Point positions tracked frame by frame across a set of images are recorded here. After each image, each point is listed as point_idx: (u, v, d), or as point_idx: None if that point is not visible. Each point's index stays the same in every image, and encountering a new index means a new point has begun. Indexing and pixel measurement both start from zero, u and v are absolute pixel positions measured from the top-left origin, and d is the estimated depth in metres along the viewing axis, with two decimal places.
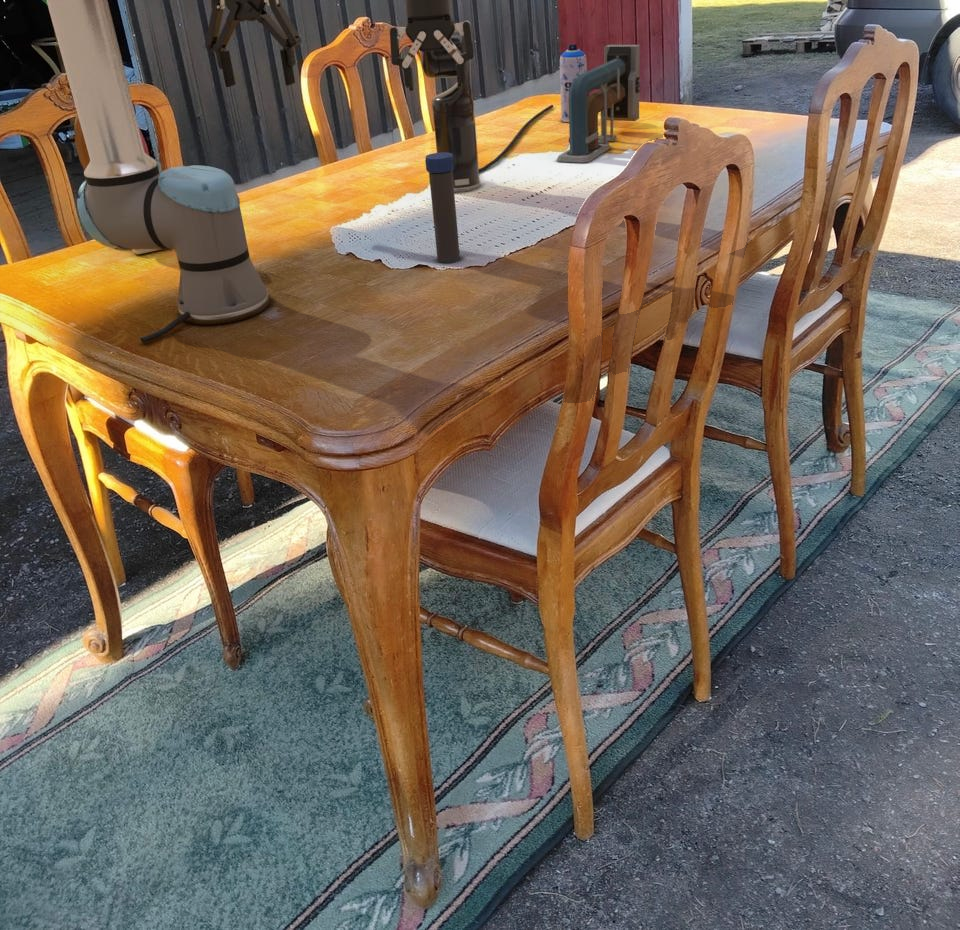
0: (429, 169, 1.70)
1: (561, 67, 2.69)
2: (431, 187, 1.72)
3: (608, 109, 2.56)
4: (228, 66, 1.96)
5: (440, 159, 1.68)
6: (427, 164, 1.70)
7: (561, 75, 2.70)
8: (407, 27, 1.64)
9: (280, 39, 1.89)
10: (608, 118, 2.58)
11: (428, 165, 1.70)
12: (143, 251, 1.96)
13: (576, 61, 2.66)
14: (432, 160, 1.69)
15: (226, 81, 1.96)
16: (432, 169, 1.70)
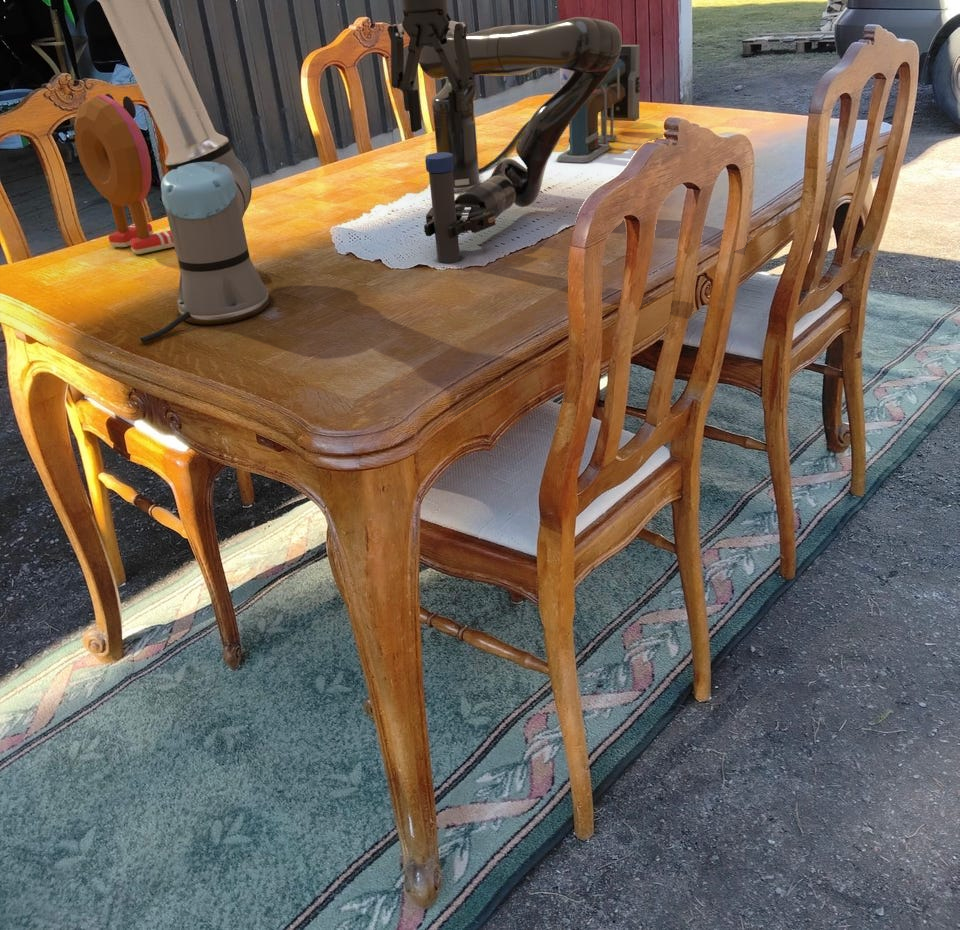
0: (429, 169, 1.70)
1: None
2: (431, 187, 1.72)
3: (608, 109, 2.56)
4: None
5: (440, 159, 1.68)
6: (427, 164, 1.70)
7: (561, 75, 2.70)
8: None
9: None
10: (608, 118, 2.58)
11: (428, 165, 1.70)
12: (143, 251, 1.96)
13: None
14: (432, 160, 1.69)
15: None
16: (432, 169, 1.70)
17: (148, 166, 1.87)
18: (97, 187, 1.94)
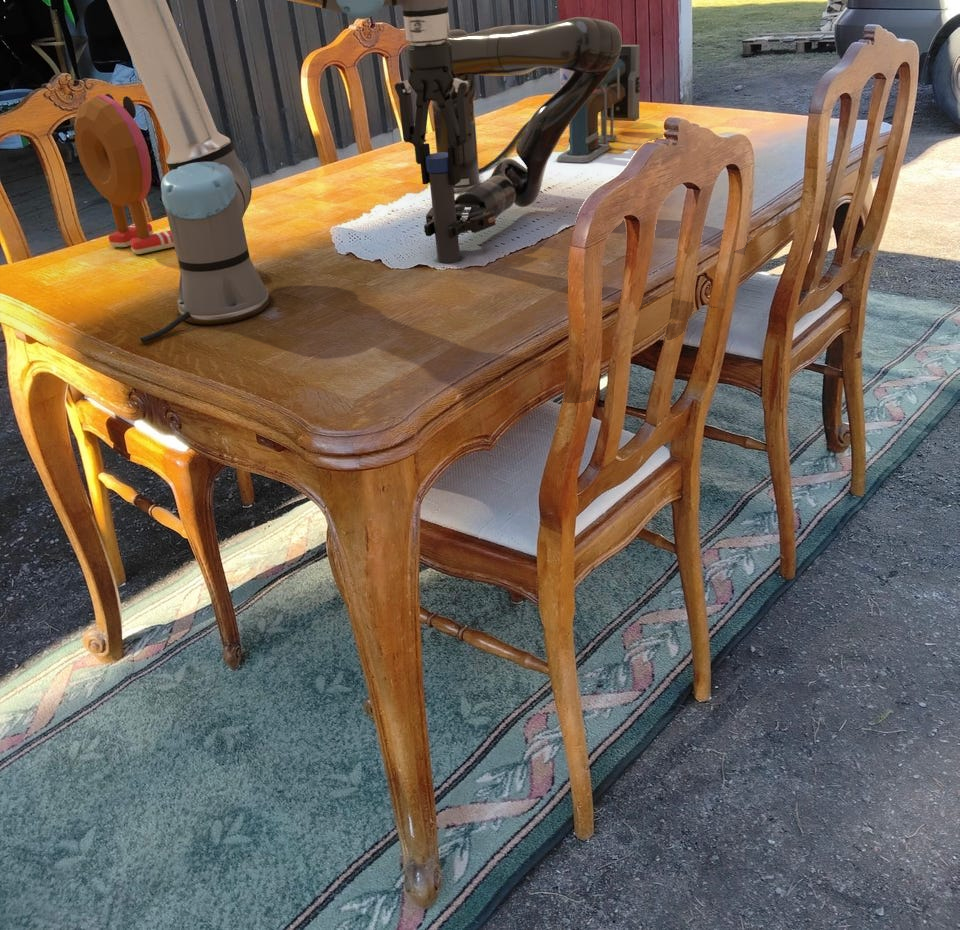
0: (429, 169, 1.70)
1: None
2: (431, 187, 1.72)
3: (608, 109, 2.56)
4: None
5: (440, 159, 1.68)
6: (427, 164, 1.70)
7: (561, 75, 2.70)
8: None
9: None
10: (608, 118, 2.58)
11: (428, 165, 1.70)
12: (143, 251, 1.96)
13: None
14: (432, 160, 1.69)
15: None
16: (432, 169, 1.70)
17: (148, 166, 1.87)
18: (97, 187, 1.94)
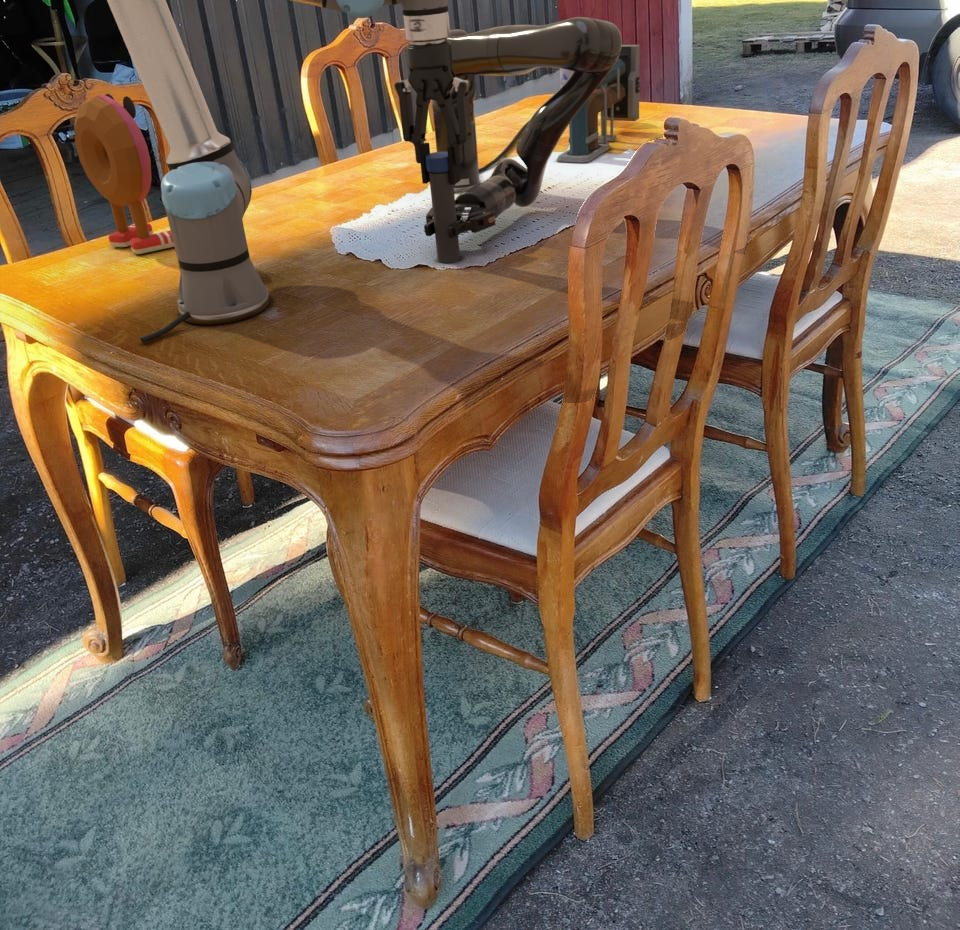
0: None
1: None
2: (431, 187, 1.72)
3: (608, 109, 2.56)
4: None
5: None
6: None
7: (561, 75, 2.70)
8: None
9: None
10: (608, 118, 2.58)
11: None
12: (143, 251, 1.96)
13: None
14: None
15: None
16: None
17: (148, 166, 1.87)
18: (97, 187, 1.94)
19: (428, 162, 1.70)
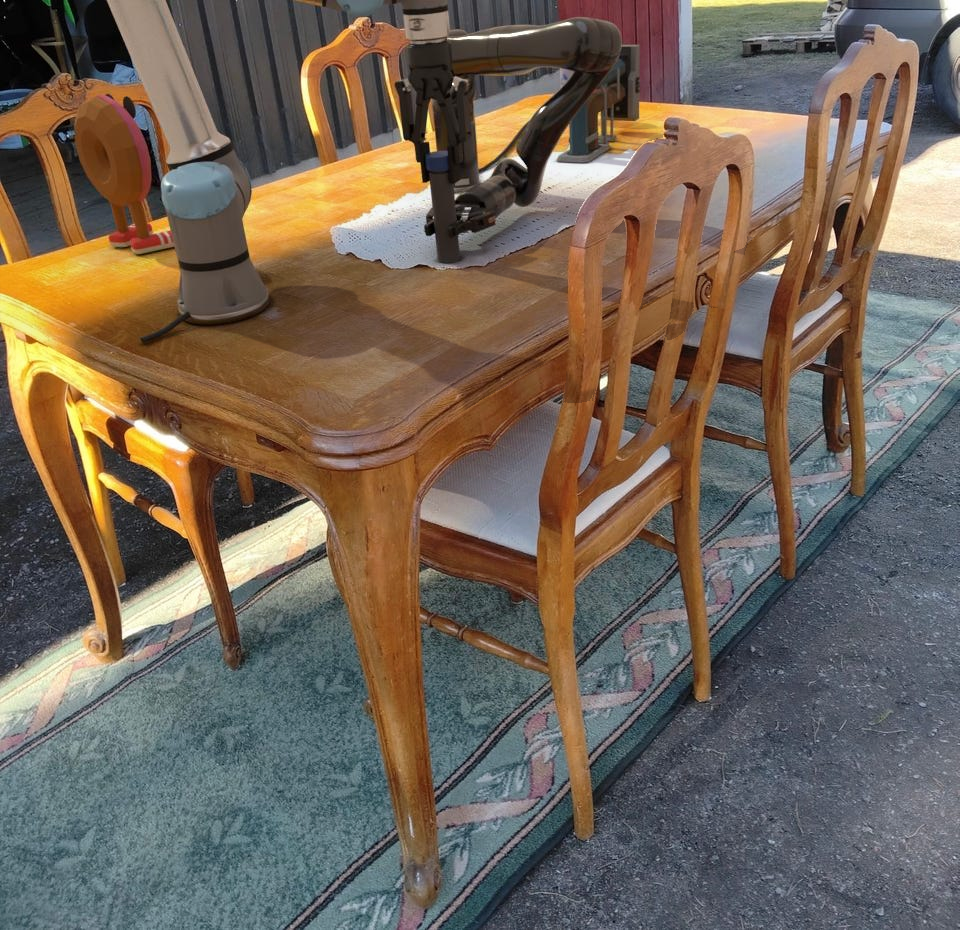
0: None
1: None
2: (431, 187, 1.72)
3: (608, 109, 2.56)
4: None
5: (430, 153, 1.72)
6: None
7: (561, 75, 2.70)
8: None
9: None
10: (608, 118, 2.58)
11: None
12: (143, 251, 1.96)
13: None
14: None
15: None
16: None
17: (148, 166, 1.87)
18: (97, 187, 1.94)
19: None
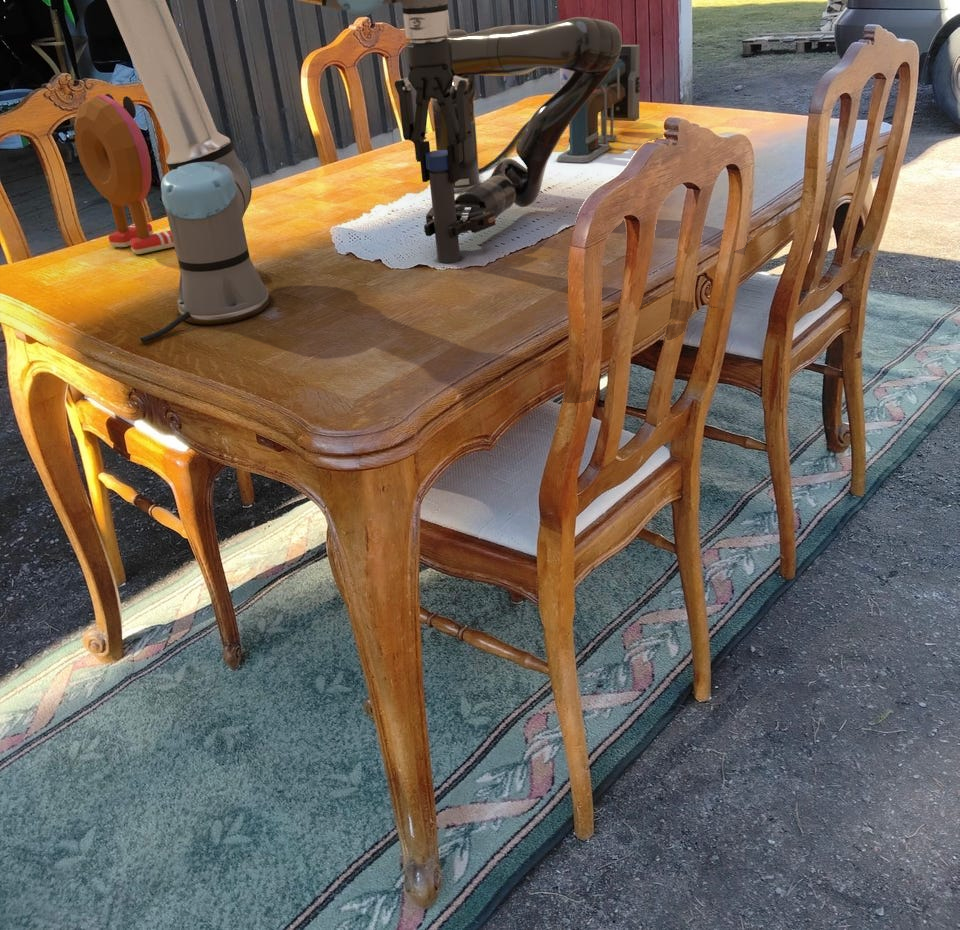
0: (426, 165, 1.71)
1: None
2: (431, 187, 1.72)
3: (608, 109, 2.56)
4: None
5: (431, 157, 1.69)
6: (426, 160, 1.71)
7: (561, 75, 2.70)
8: None
9: None
10: (608, 118, 2.58)
11: (426, 161, 1.71)
12: (143, 251, 1.96)
13: None
14: (426, 157, 1.69)
15: None
16: (427, 165, 1.71)
17: (148, 166, 1.87)
18: (97, 187, 1.94)
19: None
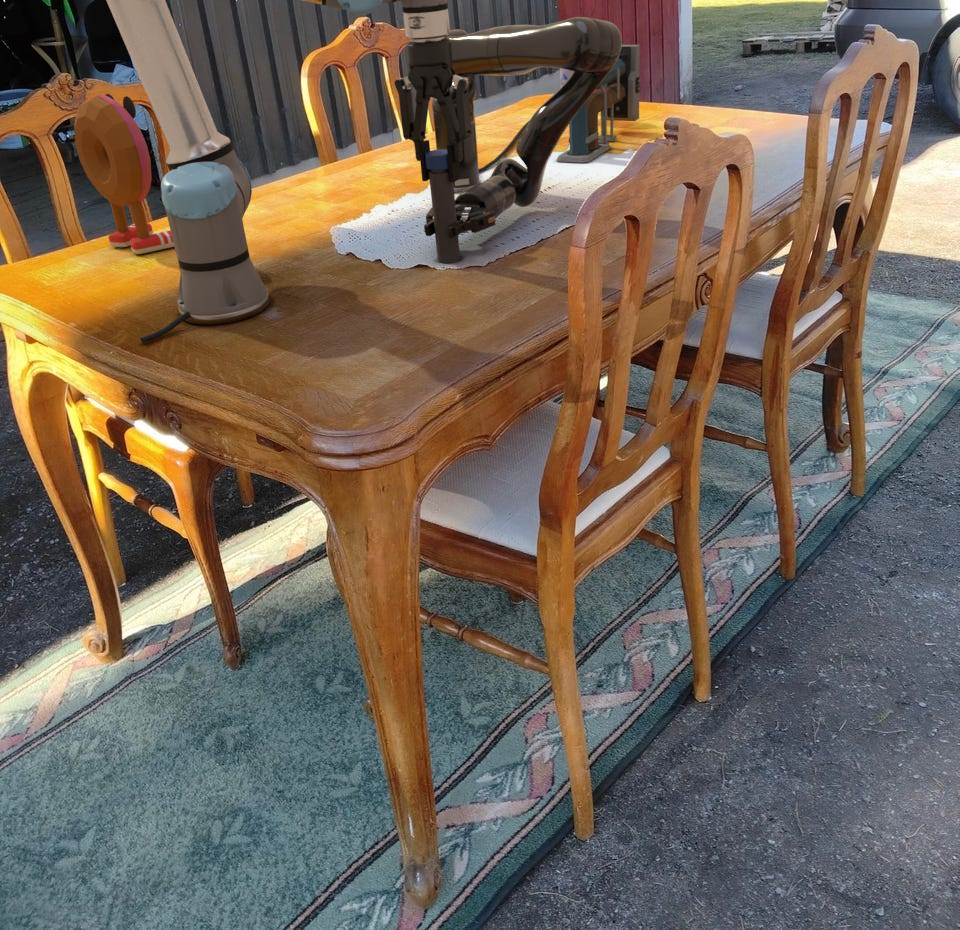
0: (444, 166, 1.69)
1: None
2: (431, 187, 1.72)
3: (608, 109, 2.56)
4: None
5: None
6: (441, 161, 1.69)
7: (561, 75, 2.70)
8: None
9: None
10: (608, 118, 2.58)
11: (442, 162, 1.69)
12: (143, 251, 1.96)
13: None
14: (447, 155, 1.69)
15: None
16: (446, 165, 1.69)
17: (148, 166, 1.87)
18: (97, 187, 1.94)
19: None
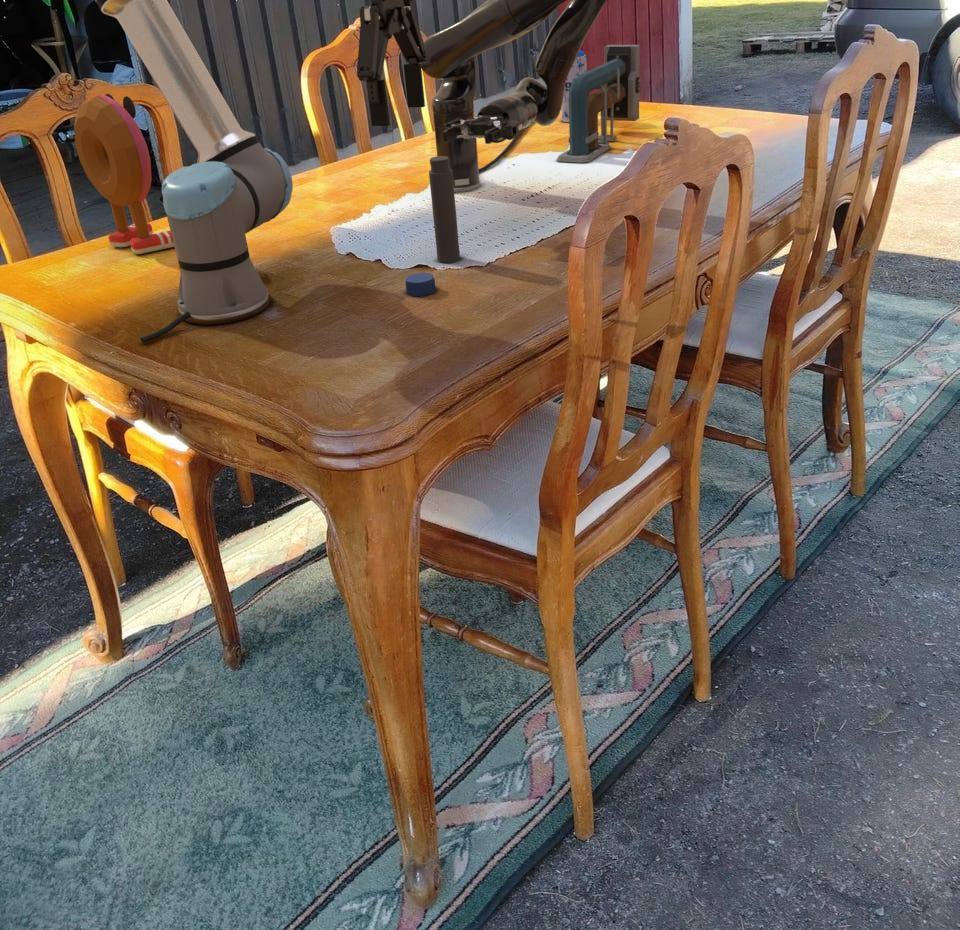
0: None
1: None
2: (431, 187, 1.72)
3: (608, 109, 2.56)
4: (412, 83, 1.55)
5: None
6: None
7: None
8: None
9: None
10: (608, 118, 2.58)
11: None
12: (143, 251, 1.96)
13: (576, 61, 2.66)
14: None
15: None
16: None
17: (148, 166, 1.87)
18: (97, 187, 1.94)
19: (419, 287, 1.64)
